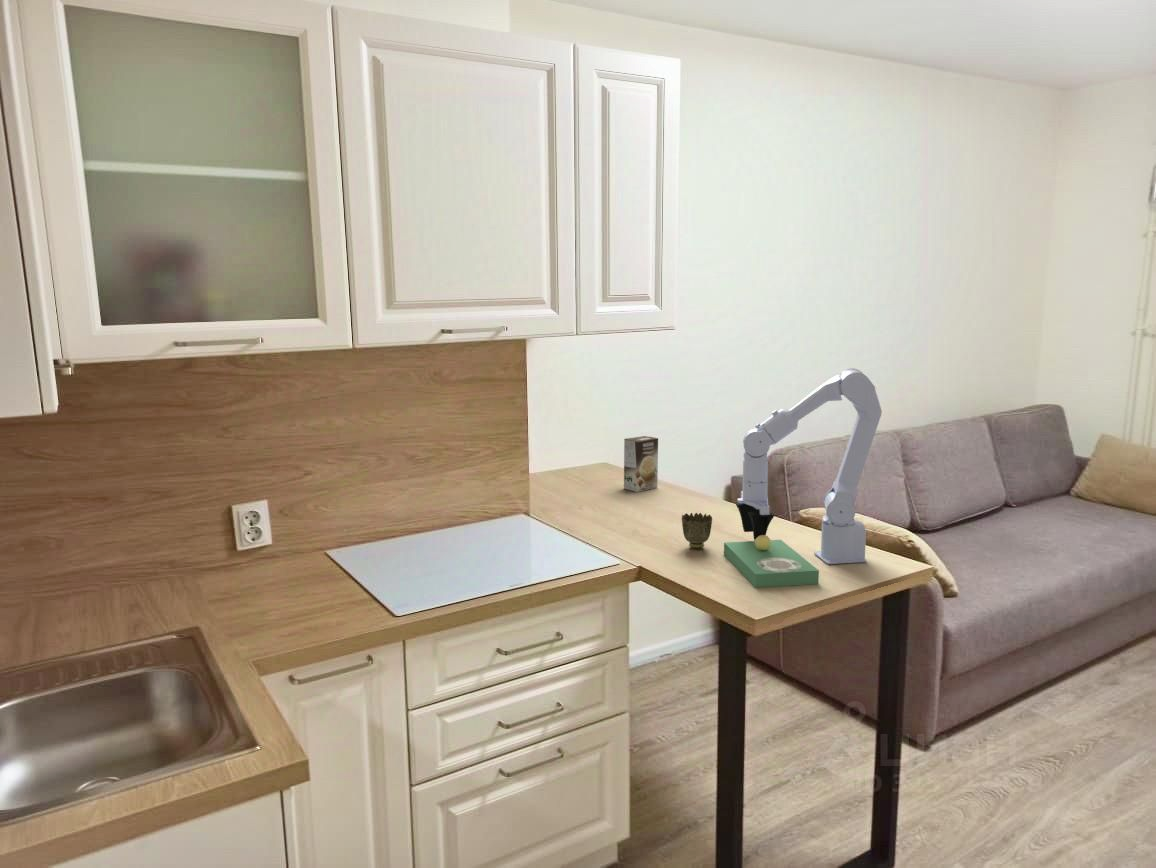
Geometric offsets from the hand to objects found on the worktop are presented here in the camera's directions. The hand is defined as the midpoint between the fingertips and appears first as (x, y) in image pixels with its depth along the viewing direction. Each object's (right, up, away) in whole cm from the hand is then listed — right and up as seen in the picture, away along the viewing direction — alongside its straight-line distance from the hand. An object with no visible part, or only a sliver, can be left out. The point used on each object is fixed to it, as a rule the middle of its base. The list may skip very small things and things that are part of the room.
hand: (753, 536), depth 197 cm
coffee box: (-22, +7, +65) cm, 69 cm away
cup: (-13, -4, +6) cm, 14 cm away
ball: (+1, -1, -6) cm, 6 cm away
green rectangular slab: (+1, -6, -9) cm, 11 cm away
